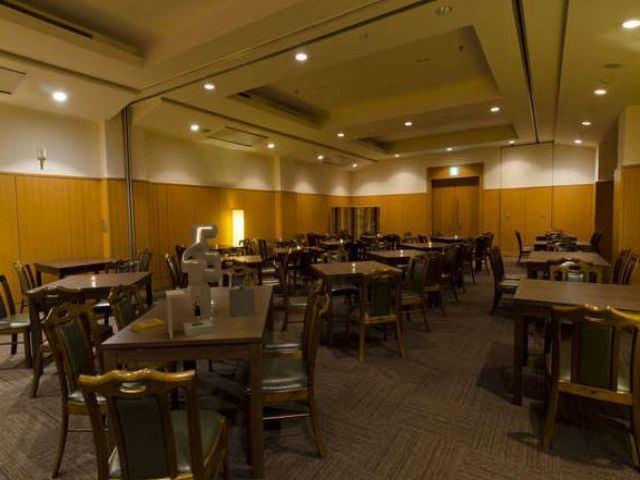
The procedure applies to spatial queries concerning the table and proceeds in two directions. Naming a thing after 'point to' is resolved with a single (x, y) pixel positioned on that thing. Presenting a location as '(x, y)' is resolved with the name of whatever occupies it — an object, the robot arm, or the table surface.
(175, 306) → the table surface
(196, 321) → the peg
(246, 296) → the hip flask
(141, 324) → the element tile
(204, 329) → the socket block
